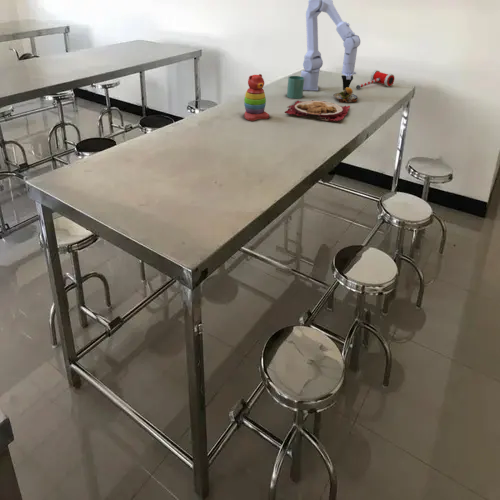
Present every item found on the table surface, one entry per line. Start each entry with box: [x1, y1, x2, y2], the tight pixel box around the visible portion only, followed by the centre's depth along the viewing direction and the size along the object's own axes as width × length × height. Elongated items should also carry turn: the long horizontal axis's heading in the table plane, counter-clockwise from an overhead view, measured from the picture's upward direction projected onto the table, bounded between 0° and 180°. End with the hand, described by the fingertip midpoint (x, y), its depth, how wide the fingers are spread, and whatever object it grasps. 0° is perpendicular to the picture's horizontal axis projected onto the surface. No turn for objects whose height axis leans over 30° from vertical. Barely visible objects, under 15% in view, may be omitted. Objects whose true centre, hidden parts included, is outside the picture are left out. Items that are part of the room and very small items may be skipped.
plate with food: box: [284, 99, 351, 123], centre depth 222 cm, size 24×26×4 cm
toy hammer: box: [355, 69, 395, 90], centre depth 261 cm, size 23×12×6 cm, turn 127°
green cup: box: [286, 75, 304, 100], centre depth 240 cm, size 8×8×9 cm
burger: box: [333, 86, 358, 104], centre depth 238 cm, size 12×12×8 cm
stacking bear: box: [243, 73, 270, 122], centre depth 209 cm, size 11×10×18 cm
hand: (345, 90), depth 243 cm, fingers closed
